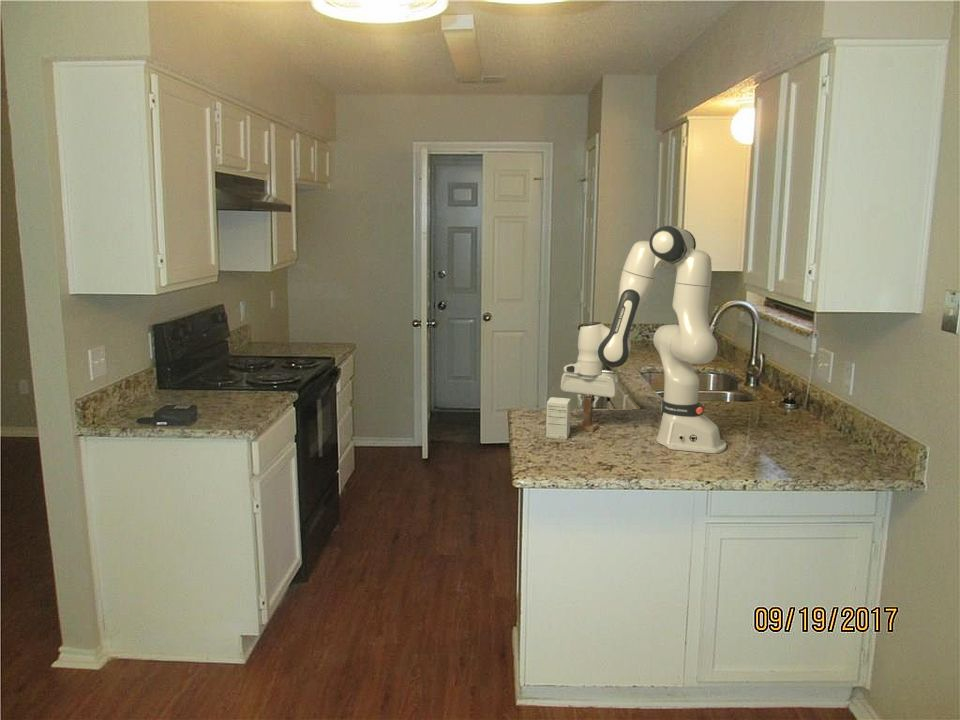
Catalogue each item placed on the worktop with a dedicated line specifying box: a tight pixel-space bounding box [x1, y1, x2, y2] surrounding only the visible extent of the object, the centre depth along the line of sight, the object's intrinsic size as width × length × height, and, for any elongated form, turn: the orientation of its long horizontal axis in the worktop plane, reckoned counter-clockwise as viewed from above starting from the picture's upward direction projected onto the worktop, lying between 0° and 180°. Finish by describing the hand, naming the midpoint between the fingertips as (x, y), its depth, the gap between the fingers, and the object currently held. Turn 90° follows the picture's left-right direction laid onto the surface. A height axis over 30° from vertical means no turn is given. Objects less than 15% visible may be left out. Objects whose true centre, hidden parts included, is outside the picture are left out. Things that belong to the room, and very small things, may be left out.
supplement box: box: [545, 396, 572, 440], centre depth 256 cm, size 7×7×13 cm
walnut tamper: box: [576, 395, 599, 433], centre depth 265 cm, size 6×6×12 cm
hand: (588, 406), depth 264 cm, fingers closed on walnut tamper, 2 cm apart
